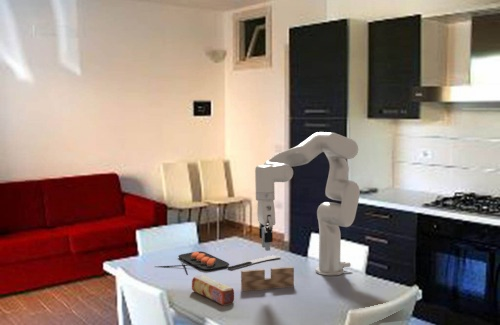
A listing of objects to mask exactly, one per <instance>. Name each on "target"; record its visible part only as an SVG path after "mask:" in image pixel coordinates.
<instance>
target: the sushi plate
mask: <svg viewBox="0 0 500 325" xmlns="http://www.w3.org/2000/svg"><path fill="white" fill-rule="evenodd" d="M178 258H180V259H181V260H182V263H183V264H179V265H175V264H174V265H158V266H155V268H171V267H172V268H174V267H184V272H185V274H186V276H189V274H188V270H187V267H188V266H191V265H192V266H195V267H196V268H199V269H200V270H204V271H206V270H209V271H210V270H215V269H220V268H225V267H230V263H229V262H227V261H226V260H224V259H221V258H218V257H217V256H214V255H212V254H210V253H207V252H205V251H199V250H198V251H194V252H193V251H192V252H187V253H181V254H179V255H178ZM184 261H185V262H186V263H189V264H185V262H184ZM186 266H187V267H186Z"/></svg>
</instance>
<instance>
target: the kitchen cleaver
mask: <svg viewBox="0 0 500 325" xmlns="http://www.w3.org/2000/svg"><path fill="white" fill-rule="evenodd" d="M271 255H272V254H271ZM266 256H267V257H266ZM266 256H263V257H264V258H262V257H258V258H259V259H258V258H255V260H254V259H250V260H246V261H243V262H242V263H239V264H238V263H237V264H234V265H231V266H230V265H229V266H227V270H228V271H235V270H238V269H241V268H246V267H248V266H251V265H253V264H257V263H262V262H266V261H271V260H273V259H274V260H275V259H280V258H281V256H279V255H272V256H270V255H266Z"/></svg>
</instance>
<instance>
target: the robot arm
mask: <svg viewBox="0 0 500 325" xmlns="http://www.w3.org/2000/svg"><path fill="white" fill-rule="evenodd" d="M358 152H359V145H358V144H357V142H356V141H355V140H354V139H352V138H350V137H346V136H343V135H341V134H338V133H337V132H332V131H331V132H327V131H325V132H324V131H319V132H318V131H317V132H314V133H313V134H311V135H310V136H309V137H307V138H306V139H304V140H303V141H301V142H300V143H299V144H298V145H296V146H294V147H292V148H289V149H287V150H284V151H281V152H279V153H276V154H274V156H272V157H271V158H268V159H267V160H266V161H265V162H264V163H263V164H259V165H257V166H255V168H254V170H255V171H254V172H255V173H254V174H255V176H254V178H255V201H257V207H256V208H257V212H256V213H257V214H256V215H257V221H258V223H259V224H258V227H259V228H258V229H259V230H258V231H259V232H258V233H259V236H258V238H259V239H262V227H265V233H264V240H265V243H268V242H270V243H273V239H274V238H273V237H274V236H273V234H274V233H273V232H274V231H273V229H274V228H273V227H274V226H275V225H276V212H275V211H276V210H275V202H274V201H275V193H276V192H275V183H287V182H289V181H290V180H291V179H292V178H293V175H294V170H293V168H292V167H297V166H298V167H299V166H303V165H307V164H309V163H310V162H311V161H313V159H315V158H317V157H318V155H320V154H322V153H324V154H325V156H326V158H327V160H328V164H329V169H328V170H329V171H328V177H327V181H326V185H325V193H324V194H325V197H326V198H328V199H330V200H333V201H339V202H341V203H337V202H330V201H324V202H322V203H320V205H318V207H317V210H316V216H317V217H316V218H317V220H318V222H317V223H318V229H319V231H318V233H319V234H318V266H316V267H315V268H314V269H315V272H316V274H319V275H322V276H330V277H331V276H339V275H342V274H344V271H345V270H344V269H345V268H350V267H351V263H350V262H346V261H341V246H342V245H341V238H342V237H341V236H342V235H341V230H340V227H343V228H348V227H351V225H352V224H353V223H354V221H355V219H356V214H357V210H358V206H359V205H358V204H359V200H360V195H361V194H360V193H361V192H360V186H359V185H358V183H357V182H355V181H353V180H348V176H349V172H350V171H349V170H350V168H349V164H348V162H347V160H352V159H354V158H355V157H356V156H357V155H358Z"/></svg>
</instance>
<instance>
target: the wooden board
mask: <svg viewBox="0 0 500 325" xmlns="http://www.w3.org/2000/svg"><path fill="white" fill-rule="evenodd" d="M240 283H241V284H240V285H241V286H240V290H241V291H242V292H246V291H258V290H260V291H261V290H268V289H269V290H270V289H279V288H280V289H282V288H291V287H295V285H294V284H295V267H294V266H283V267H271V268H270V277H266V270H265V268H259V269H257V268H256V269H247V270H240Z"/></svg>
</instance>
